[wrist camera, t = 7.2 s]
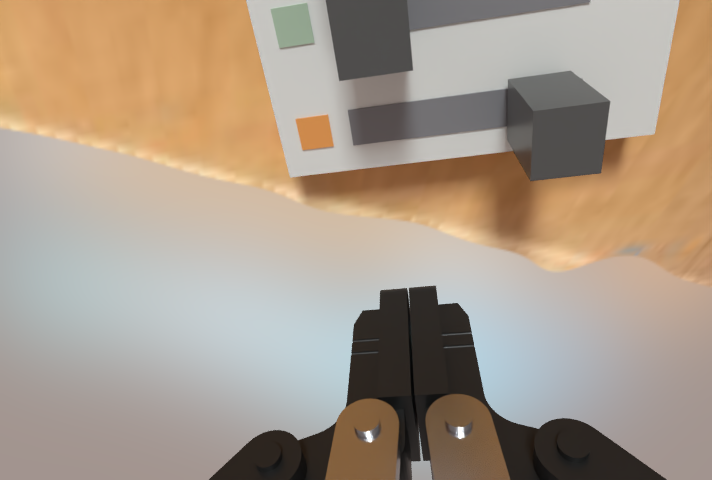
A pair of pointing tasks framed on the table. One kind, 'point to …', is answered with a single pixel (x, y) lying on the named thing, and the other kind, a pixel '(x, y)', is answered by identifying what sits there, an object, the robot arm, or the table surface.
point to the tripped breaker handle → (556, 125)
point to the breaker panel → (445, 72)
